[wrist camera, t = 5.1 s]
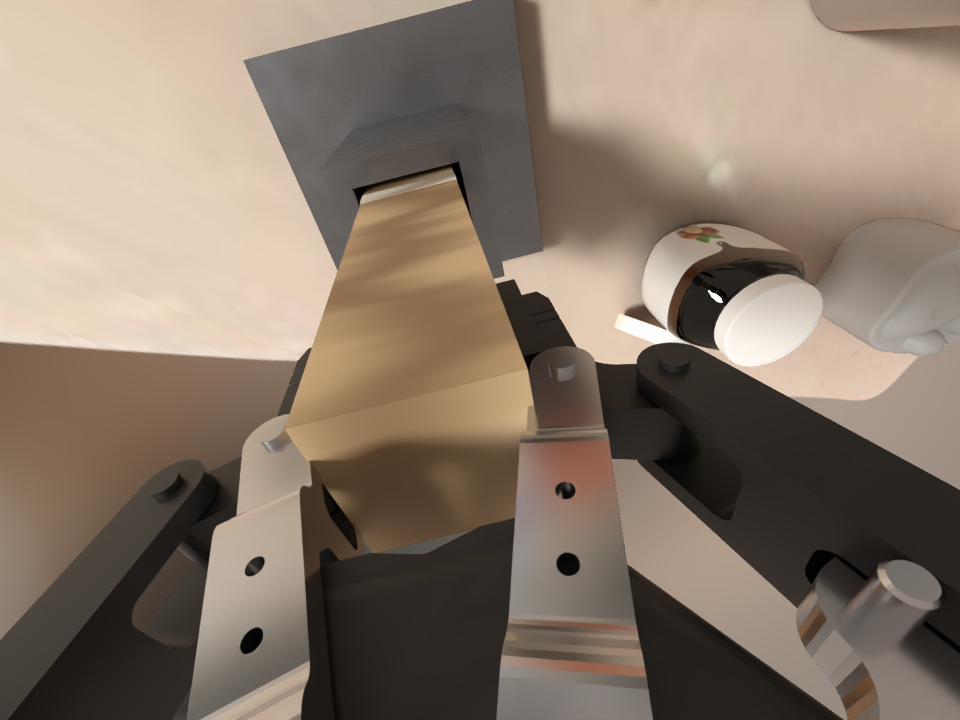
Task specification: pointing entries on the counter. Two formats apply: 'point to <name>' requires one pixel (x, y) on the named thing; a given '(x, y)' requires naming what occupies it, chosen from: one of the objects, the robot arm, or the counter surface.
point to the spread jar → (726, 294)
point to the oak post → (414, 373)
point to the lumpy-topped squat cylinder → (896, 286)
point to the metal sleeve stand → (410, 119)
